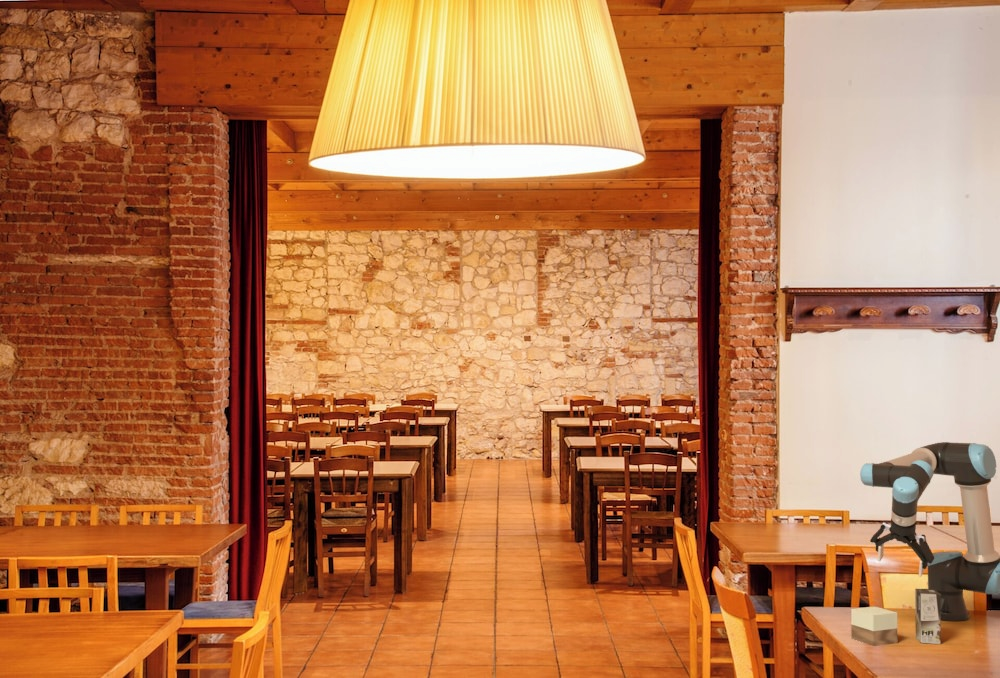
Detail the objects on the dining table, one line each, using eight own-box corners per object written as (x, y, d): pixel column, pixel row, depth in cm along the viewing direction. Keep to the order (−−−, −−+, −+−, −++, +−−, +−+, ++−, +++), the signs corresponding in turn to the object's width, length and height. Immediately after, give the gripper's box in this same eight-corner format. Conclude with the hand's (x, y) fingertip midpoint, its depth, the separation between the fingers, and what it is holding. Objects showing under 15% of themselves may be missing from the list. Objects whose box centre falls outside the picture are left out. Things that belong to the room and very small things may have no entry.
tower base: (875, 636, 346) (874, 621, 346) (897, 643, 337) (897, 628, 337) (851, 639, 342) (851, 624, 342) (873, 646, 333) (873, 631, 333)
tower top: (874, 621, 346) (874, 606, 346) (897, 628, 337) (897, 612, 337) (851, 624, 342) (851, 608, 342) (873, 631, 333) (873, 615, 333)
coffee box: (941, 644, 336) (941, 594, 336) (920, 643, 337) (920, 593, 337) (935, 637, 344) (935, 588, 345) (915, 636, 346) (914, 587, 346)
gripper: (861, 513, 339) (859, 559, 351) (938, 540, 324) (934, 587, 336) (870, 499, 344) (868, 545, 355) (947, 525, 329) (943, 572, 340)
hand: (900, 566), depth 345 cm, fingers open, 13 cm apart
